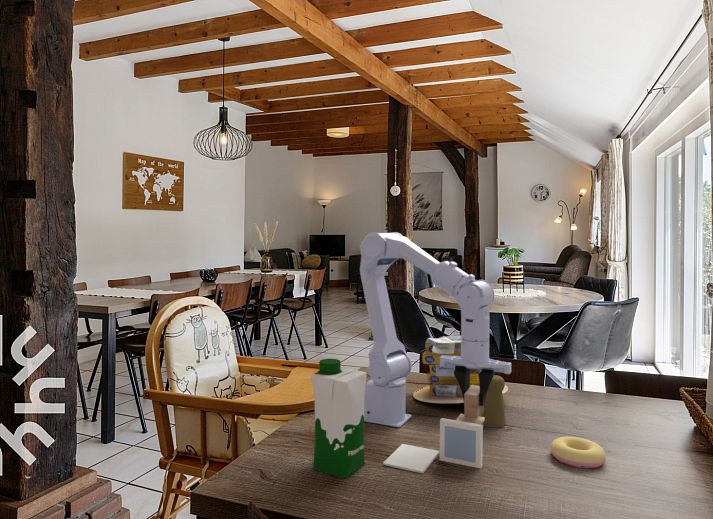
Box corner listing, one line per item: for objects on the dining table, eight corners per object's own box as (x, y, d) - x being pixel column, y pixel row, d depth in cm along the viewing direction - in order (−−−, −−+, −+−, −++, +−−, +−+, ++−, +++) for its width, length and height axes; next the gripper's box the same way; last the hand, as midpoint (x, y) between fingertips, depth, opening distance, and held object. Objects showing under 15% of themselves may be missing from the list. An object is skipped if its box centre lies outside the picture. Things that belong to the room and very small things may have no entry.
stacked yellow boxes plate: (394, 397, 141) (394, 336, 140) (448, 379, 158) (448, 323, 157) (474, 421, 123) (475, 351, 122) (525, 397, 141) (526, 335, 140)
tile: (439, 460, 103) (439, 420, 102) (441, 457, 104) (441, 418, 103) (480, 468, 99) (481, 427, 99) (482, 465, 100) (482, 424, 100)
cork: (507, 428, 119) (507, 380, 118) (479, 426, 120) (480, 378, 119) (505, 419, 125) (505, 373, 124) (478, 417, 126) (479, 371, 125)
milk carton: (332, 453, 106) (332, 354, 105) (371, 464, 101) (372, 360, 100) (306, 470, 98) (305, 364, 97) (346, 482, 93) (346, 371, 92)
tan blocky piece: (466, 408, 114) (466, 384, 114) (489, 412, 112) (489, 387, 112) (454, 425, 106) (453, 398, 105) (478, 429, 104) (478, 402, 103)
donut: (567, 456, 110) (541, 462, 104) (566, 433, 110) (540, 437, 105) (615, 466, 102) (590, 472, 96) (614, 441, 103) (589, 446, 97)
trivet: (383, 464, 100) (383, 462, 100) (402, 445, 109) (402, 443, 109) (423, 473, 97) (423, 471, 97) (439, 452, 106) (439, 450, 106)
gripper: (435, 339, 109) (435, 403, 110) (507, 346, 103) (506, 414, 104) (445, 333, 116) (445, 394, 116) (513, 339, 109) (512, 404, 110)
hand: (474, 403), depth 110 cm, fingers closed on tan blocky piece, 3 cm apart
